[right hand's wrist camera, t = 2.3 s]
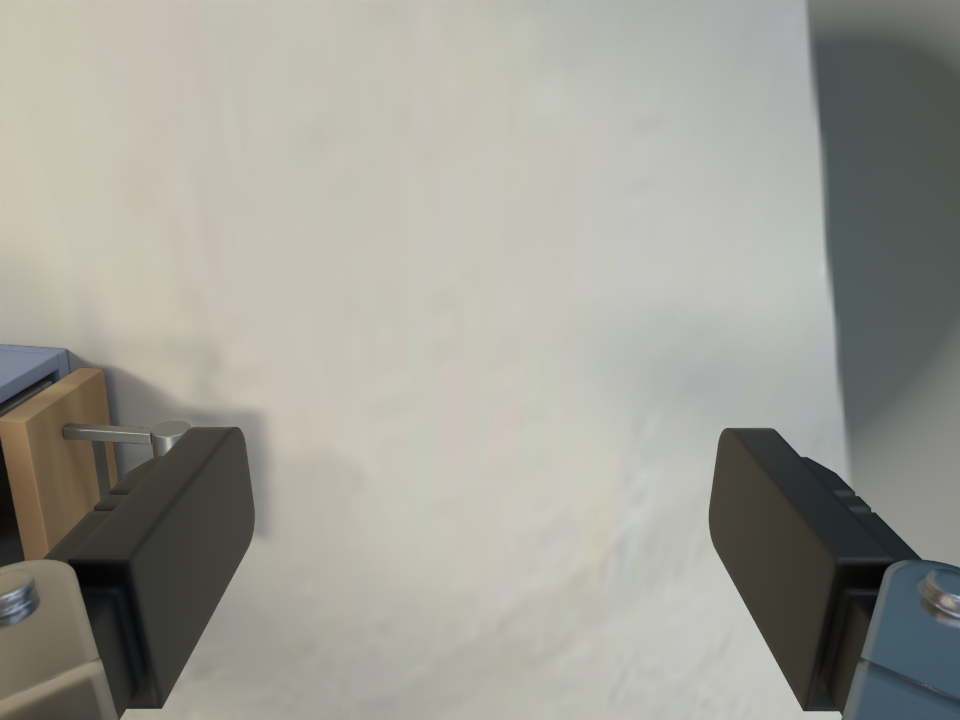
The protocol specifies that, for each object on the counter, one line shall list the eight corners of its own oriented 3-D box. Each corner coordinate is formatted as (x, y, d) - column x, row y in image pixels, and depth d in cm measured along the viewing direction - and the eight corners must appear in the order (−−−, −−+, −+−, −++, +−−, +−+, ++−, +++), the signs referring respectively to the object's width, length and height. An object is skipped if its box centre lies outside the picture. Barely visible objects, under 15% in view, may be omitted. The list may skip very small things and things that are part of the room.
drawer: (217, 376, 34) (162, 430, 28) (229, 539, 37) (182, 617, 31) (-147, 352, 33) (-280, 401, 27) (-101, 519, 37) (-211, 595, 31)
